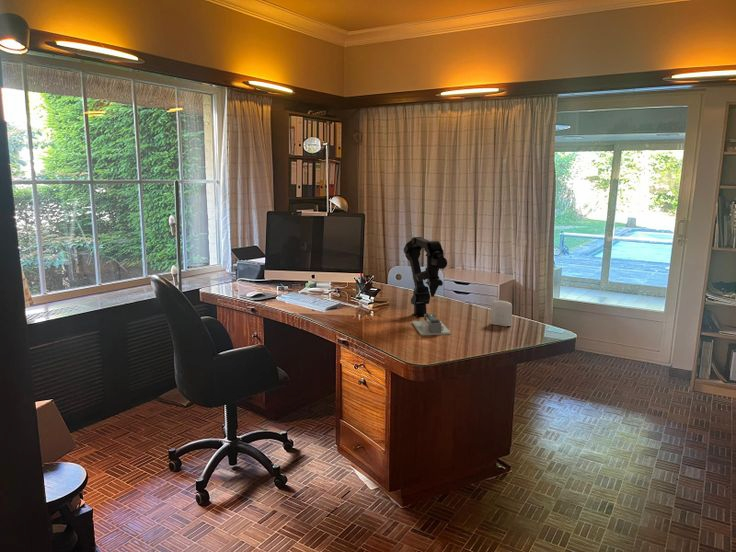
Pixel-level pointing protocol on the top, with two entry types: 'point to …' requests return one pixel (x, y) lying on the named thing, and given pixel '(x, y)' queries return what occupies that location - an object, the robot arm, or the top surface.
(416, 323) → the heatsink board
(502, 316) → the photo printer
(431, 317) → the lever
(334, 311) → the top surface
